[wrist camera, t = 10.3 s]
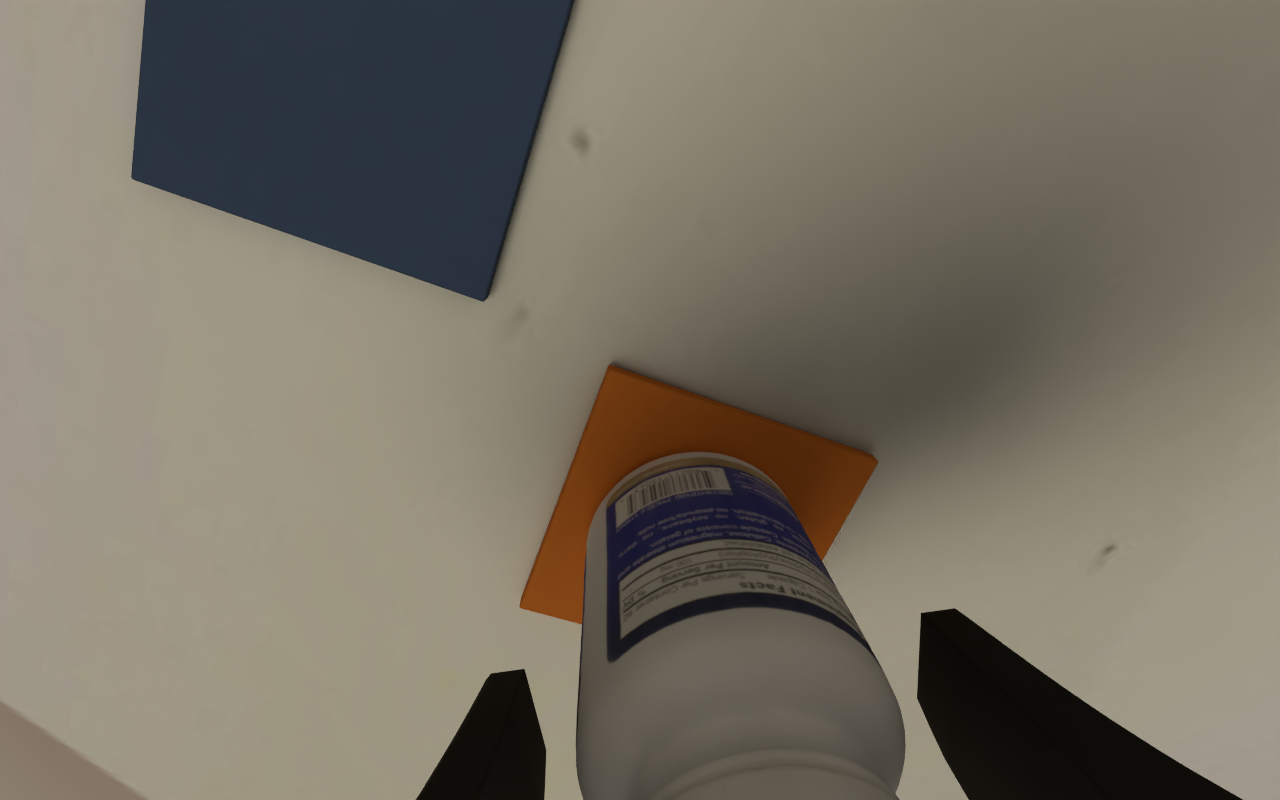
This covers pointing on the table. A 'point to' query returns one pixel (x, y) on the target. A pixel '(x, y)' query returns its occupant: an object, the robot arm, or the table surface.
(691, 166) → the table surface
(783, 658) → the pill bottle
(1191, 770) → the robot arm
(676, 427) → the amber mat
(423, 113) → the blue mat
